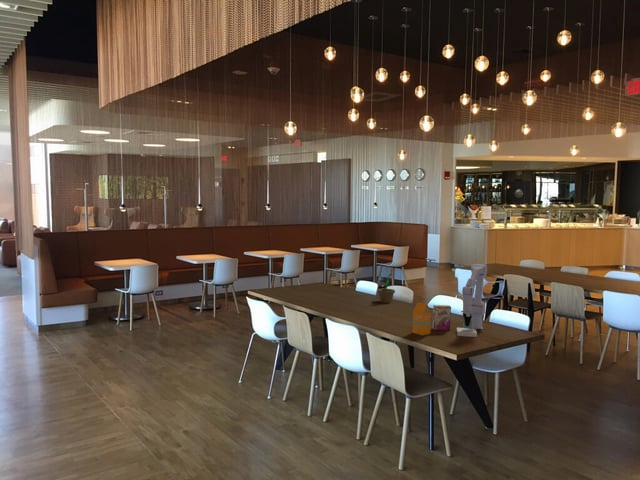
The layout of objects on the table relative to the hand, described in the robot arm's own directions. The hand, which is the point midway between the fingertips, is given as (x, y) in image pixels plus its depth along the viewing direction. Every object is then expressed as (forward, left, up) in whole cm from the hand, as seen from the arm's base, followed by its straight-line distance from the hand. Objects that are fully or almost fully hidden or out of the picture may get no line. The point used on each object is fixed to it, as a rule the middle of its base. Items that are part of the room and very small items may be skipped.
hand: (466, 325), depth 342 cm
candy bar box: (-8, -16, -6) cm, 19 cm away
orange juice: (+6, -29, -6) cm, 30 cm away
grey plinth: (0, 0, -6) cm, 6 cm away
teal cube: (0, 0, -2) cm, 2 cm away
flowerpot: (-95, -60, -6) cm, 113 cm away
